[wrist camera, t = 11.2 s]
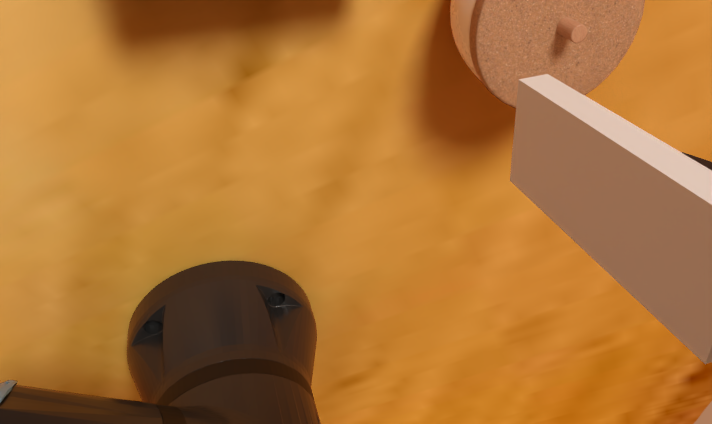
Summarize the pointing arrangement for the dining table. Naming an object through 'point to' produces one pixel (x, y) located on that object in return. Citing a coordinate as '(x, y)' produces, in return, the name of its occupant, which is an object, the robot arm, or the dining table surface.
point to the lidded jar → (543, 40)
